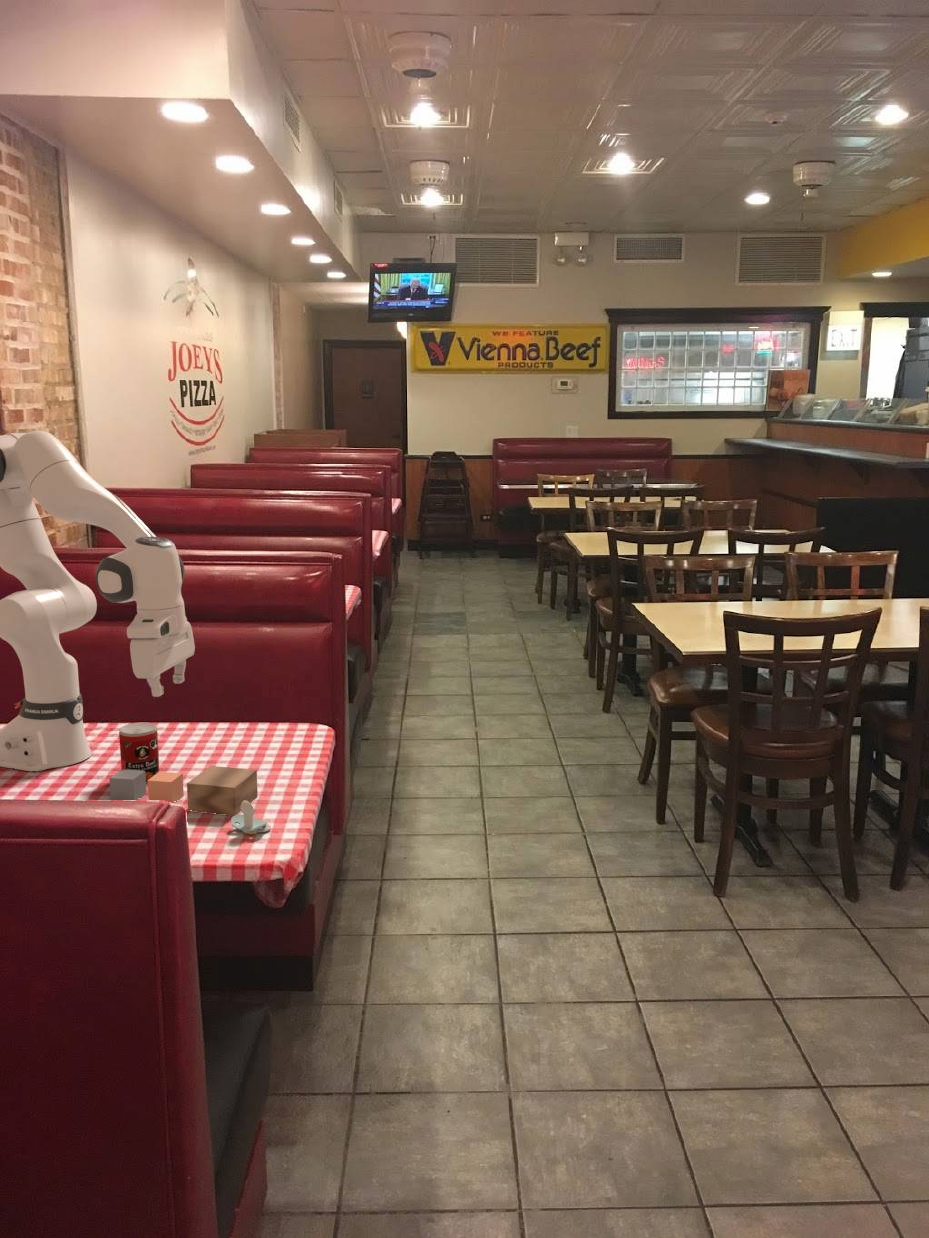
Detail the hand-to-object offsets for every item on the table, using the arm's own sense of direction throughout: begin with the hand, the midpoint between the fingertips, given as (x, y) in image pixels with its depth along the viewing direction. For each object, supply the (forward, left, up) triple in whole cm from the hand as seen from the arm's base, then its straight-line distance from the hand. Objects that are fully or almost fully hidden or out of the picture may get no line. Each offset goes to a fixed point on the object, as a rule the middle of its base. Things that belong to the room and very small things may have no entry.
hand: (168, 689), depth 187 cm
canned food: (-12, +9, -23) cm, 27 cm away
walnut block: (+11, -2, -23) cm, 25 cm away
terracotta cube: (-1, -2, -23) cm, 23 cm away
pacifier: (+21, -13, -23) cm, 34 cm away
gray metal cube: (-9, -2, -23) cm, 24 cm away
